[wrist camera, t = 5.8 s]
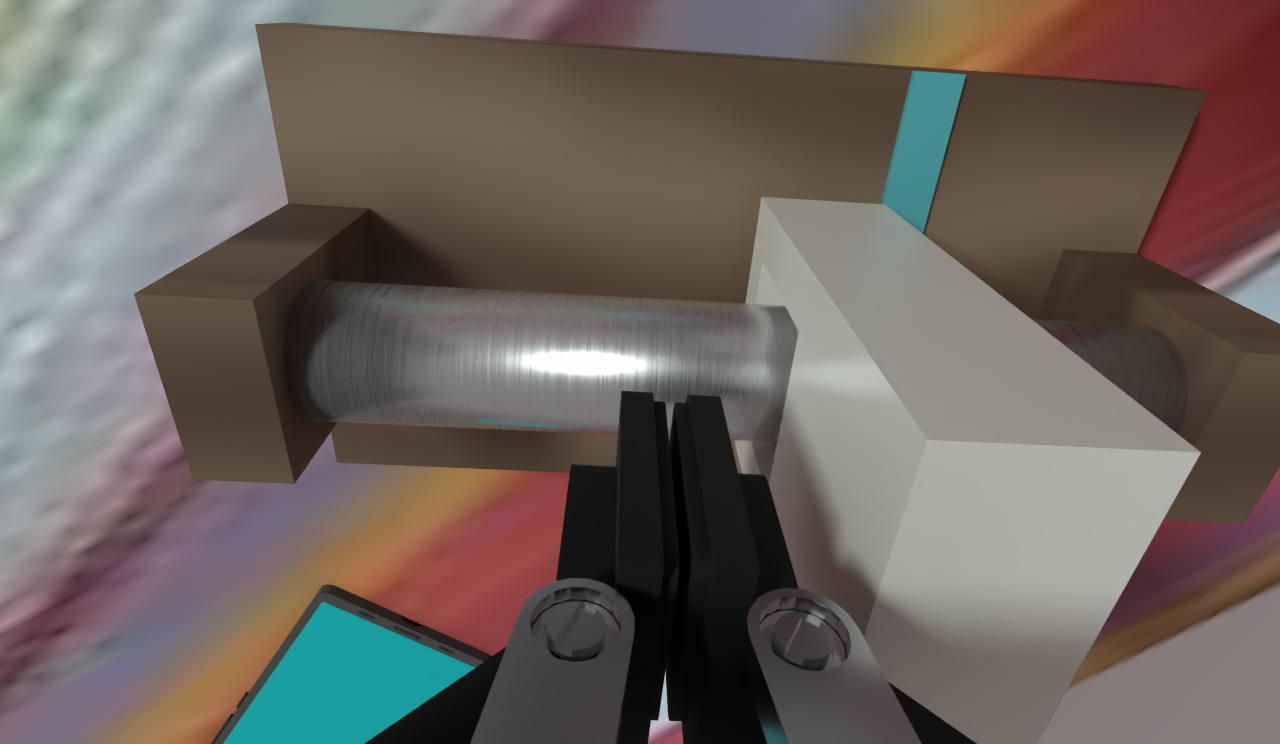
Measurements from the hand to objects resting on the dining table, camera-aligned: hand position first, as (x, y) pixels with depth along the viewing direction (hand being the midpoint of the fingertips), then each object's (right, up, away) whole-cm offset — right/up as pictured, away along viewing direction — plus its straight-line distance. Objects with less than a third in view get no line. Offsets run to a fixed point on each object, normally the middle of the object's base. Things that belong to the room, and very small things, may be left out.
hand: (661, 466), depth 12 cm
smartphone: (-14, -13, +18) cm, 26 cm away
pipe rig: (+2, +4, +8) cm, 9 cm away
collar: (+4, +3, +6) cm, 8 cm away
